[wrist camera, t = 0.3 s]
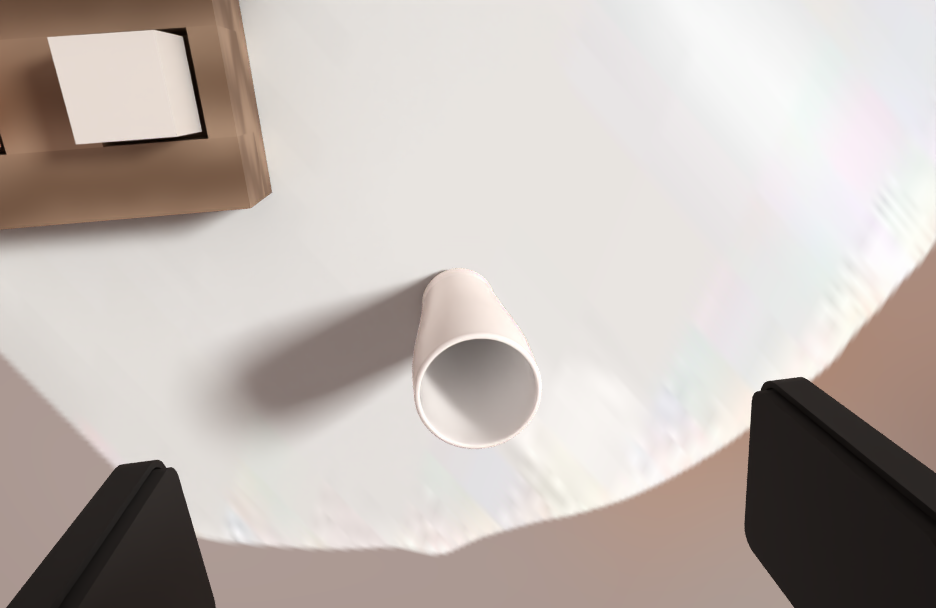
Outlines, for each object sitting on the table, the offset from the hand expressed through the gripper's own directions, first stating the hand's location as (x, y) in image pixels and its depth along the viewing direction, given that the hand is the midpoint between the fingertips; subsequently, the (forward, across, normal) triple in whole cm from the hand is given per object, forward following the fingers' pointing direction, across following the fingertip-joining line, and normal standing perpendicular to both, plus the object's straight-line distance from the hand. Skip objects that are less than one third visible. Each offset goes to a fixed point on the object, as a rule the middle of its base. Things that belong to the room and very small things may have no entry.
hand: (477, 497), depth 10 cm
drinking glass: (+35, -1, +9) cm, 36 cm away
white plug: (+30, +15, -8) cm, 34 cm away
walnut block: (+35, +20, -8) cm, 41 cm away
